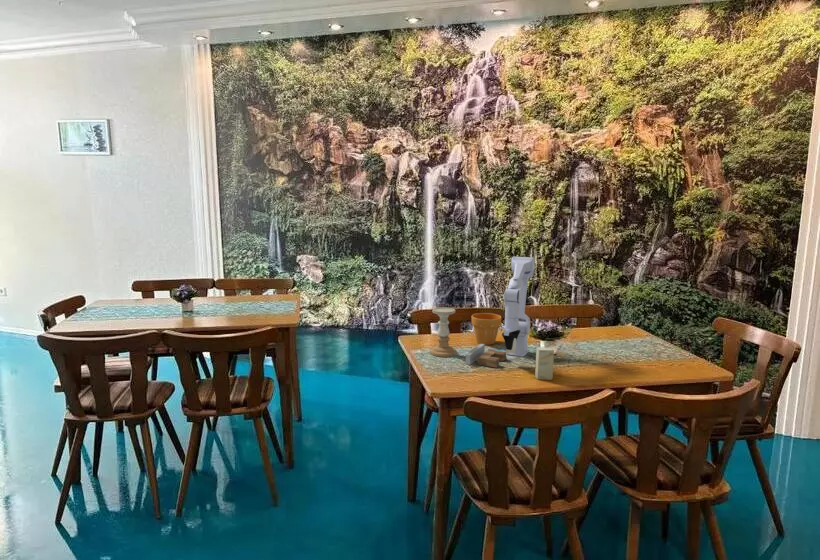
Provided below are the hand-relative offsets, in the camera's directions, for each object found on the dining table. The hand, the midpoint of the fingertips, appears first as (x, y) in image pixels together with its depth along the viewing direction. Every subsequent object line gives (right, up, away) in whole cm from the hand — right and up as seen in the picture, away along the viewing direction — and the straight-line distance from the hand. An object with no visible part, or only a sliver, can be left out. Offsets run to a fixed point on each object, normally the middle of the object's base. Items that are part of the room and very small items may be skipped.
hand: (510, 348), depth 251 cm
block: (-7, -7, +5) cm, 11 cm away
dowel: (0, -2, 0) cm, 2 cm away
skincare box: (+11, -10, -15) cm, 21 cm away
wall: (-14, -6, +9) cm, 18 cm away
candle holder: (-28, -4, +17) cm, 33 cm away
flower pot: (-6, -1, +35) cm, 36 cm away
